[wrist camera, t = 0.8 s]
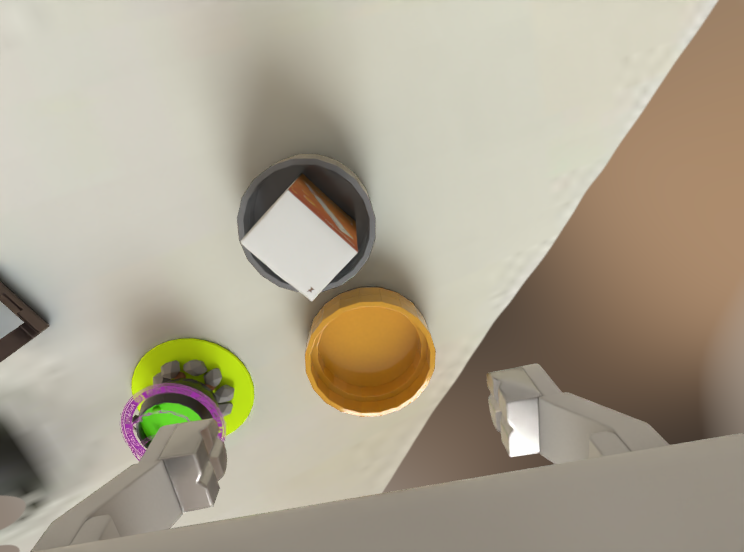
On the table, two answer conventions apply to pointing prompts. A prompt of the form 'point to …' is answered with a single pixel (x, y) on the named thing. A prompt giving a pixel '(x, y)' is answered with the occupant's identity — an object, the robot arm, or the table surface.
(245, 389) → the toy cauldron
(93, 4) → the table surface
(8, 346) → the tablet stand
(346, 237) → the small box
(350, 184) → the pot
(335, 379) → the bowl
